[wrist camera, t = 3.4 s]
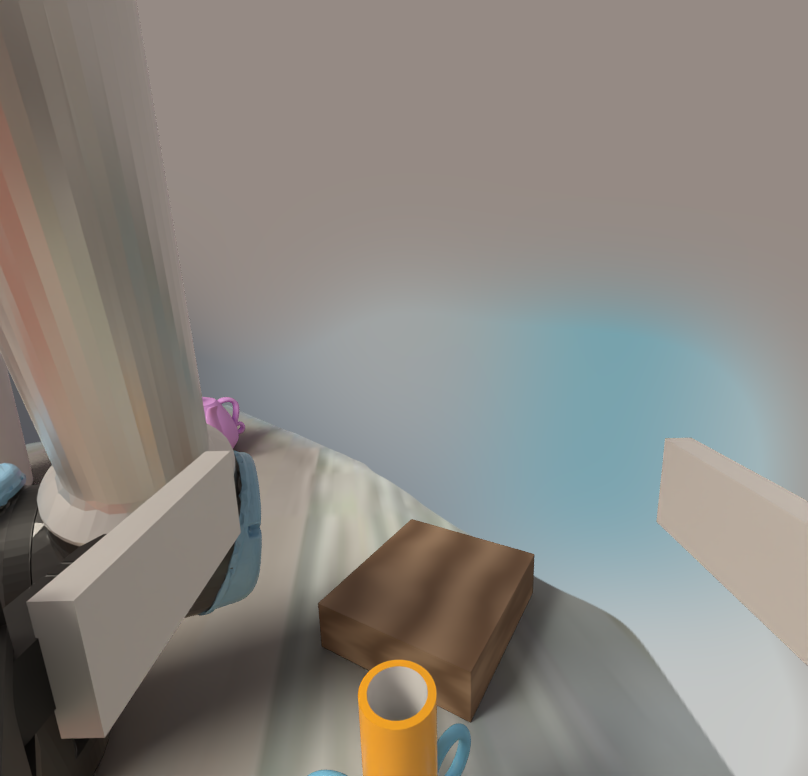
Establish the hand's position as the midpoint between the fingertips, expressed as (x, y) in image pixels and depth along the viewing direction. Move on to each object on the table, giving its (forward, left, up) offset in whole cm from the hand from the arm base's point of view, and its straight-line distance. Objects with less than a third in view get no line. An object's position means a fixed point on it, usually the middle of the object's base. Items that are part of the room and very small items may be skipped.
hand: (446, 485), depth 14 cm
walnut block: (-14, +25, -29) cm, 41 cm away
